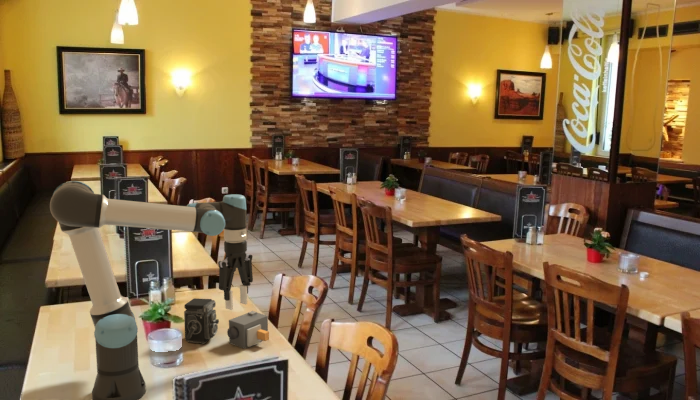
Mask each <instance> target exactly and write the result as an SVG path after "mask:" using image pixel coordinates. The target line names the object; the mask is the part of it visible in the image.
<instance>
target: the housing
mask: <svg viewBox="0 0 700 400" xmlns="http://www.w3.org/2000/svg"><path fill="white" fill-rule="evenodd" d="M268 319H269V317H268V315H266V314H263V313H259V312H257V311H254V310H251V311H248V312H247V313H245V314H241V315H239V316H236V317H233V318H231V319H228V328H227V332H226V333H227V336H228V340H229V341H228V342H229V344H231V345H233V346H236V347H238V348H242V349H244V350H245V349H247V348H249V347H251V346H249V347H248V346H247V329H249V328H252V327H254V326H257V325H259V324H260V325H261V329H262V330H265V331H268V332H269V325H268V324H269V320H268ZM261 342H264V341H263V340H261ZM258 343H260V342H258ZM258 343H256V344H255V345H257V344H258Z"/></svg>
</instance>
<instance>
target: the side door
mask: <svg viewBox="0 0 700 400" xmlns="http://www.w3.org/2000/svg"><path fill="white" fill-rule="evenodd" d="M261 340H263V341H261ZM269 340H270V332H269V330H268V331H265V330H262V329H261V325H260V324H259V325H257V326H254V327H252V328H249V329H247V346H248V347H247V348H249V346H250V347H252V346H254V345H257V344H258V342H259V343H261V342H267V341H269ZM256 343H257V344H256Z"/></svg>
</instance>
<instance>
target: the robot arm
mask: <svg viewBox="0 0 700 400" xmlns="http://www.w3.org/2000/svg"><path fill="white" fill-rule="evenodd" d="M49 210H50V213H51V215H52V217H53V218H54V219H55V221H56V222H58V225H59V227H60V228H59V229H60V231H61V232H62V233H64V234H66V235H68V237H69V240H70V242H71V245H72V248H73V251H74V255H75V257H76V260H77V263H78V265H79V269H80V272H81V274H82V277H83V281H84V283H85V287H86V289H87V292H88V295H89V297H90V301H91V303H92V307H91V308H90V310H89V314H90V317H91V321H92V323H93V326H94V332H93V333H94V335H93V336H94V339H95V340H94V341H95V354H96V356H95V357H96V376H95V380H94V383H93V388H92V391H91V392H92V393H91V397H92V398H91V399H92V400H140V399H141V398H142V397H143V396H144V395H145V394H146V390H147V388H146V381H145V378H144V377H143V376H144V375H143V374H142V372H141V370H140V367H139V366H140V365H139V348H138V347H139V343H138V332H139V331H138V325H137V322H136V318H135V315H134V312H133V311H132V310H131V306H130V303H129V301H128V298H127V297H125V296H123V295H122V294H121V292H120V289H119V286H118V284H117V280H116V276H115V275H114V271H113V267H112V265H111V261H110V259H109V256H108V253H107V248H106V247H105V244H104V240H103V237H102V234H101V231H100V229H101V228H102V227H103V226H105V225H107V226H117V227H119V226H120V227H128V228H129V227H130V228H141V229H143V228H144V229H155V230H168V231H181V232H192V233H193V232H194V233H202V234H205V235H206V236H210V237H214V236H218V235H220V234H221V233H222V232H223V240H224V242H223V246H224V247H223V249H224V250H223V251H224V253H225V257H224V259H223V260H219V261H218V262H217V265H218V267H219V268H218V269H219V270H218V273H219V277H218V290H220V291H223V300H224V301H225V309H227V310H230V311H232V310H234V309H233V306H234V303H233V296H234V295H233V290H232V284H233V280H234V276H235V272H236V270H237V271H238V274H239V275H238V276H239V278H240V282H241V284H240V285H239V296H240V297H239V300H240V301H239V302H240V304H242V305H245V306H247V305H248V294H249V287H250V286H251V285H252V283H253V282H254V280H253V279H254V278H253V262H252V260H253V255H252V254H250V253H249V254H248V253H246V252H247V251H248V244H247V243H248V241H247V237H248V236H247V232H248V231H247V199H246V197H245V195H242V194H237V193H236V194H232V193H231V194H226V195H225V194H224V195H223V198H222V201H212V202H211V201H209V202H207V201H206V202H194V203H188V204H187V205H174V204H166V203H164V204H163V203H155V202H153V203H152V202H144V201H137V200H136V201H135V200H134V201H133V200H125V199H113V198H107V197H106V196H105V195H104V194H99V193H95V192H94V190H93V188H91V187H90V186H89V185H88V184H86V183H84V182H82V181H78V180H70V181H67V182H64V183H61V184H60V185H58V186H57V187H56V188H55V190H54V191H53V193H52V196H51V198H50V202H49Z"/></svg>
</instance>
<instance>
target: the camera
mask: <svg viewBox="0 0 700 400" xmlns="http://www.w3.org/2000/svg"><path fill="white" fill-rule="evenodd" d="M183 307H184V309H185V310H184V312H183V316H184V317H183V319H184V322H183V323H184V340H185V342H188V343H195V344H197V343H198V344H203V345H204V344H206V343H207V342H208V341H210V340H211V339H212V338H214V337H215V336H216V335H217V333H218V329H219V327H218V326H219V325H218V324H219V322H220V321H219V319H217V314H216V312H217V310H216V309H214V308H216V301H215V300H214V299H212V298H194V297H193V298H192V299H191V300H190V301H187V303H185V304H184V306H183Z"/></svg>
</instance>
